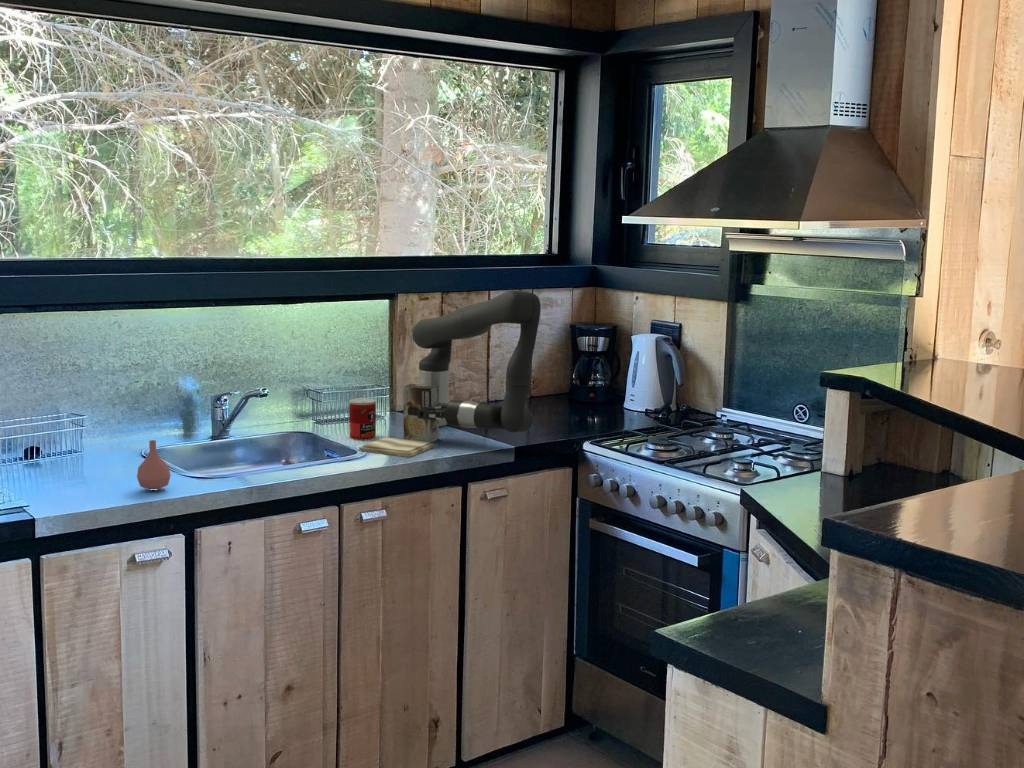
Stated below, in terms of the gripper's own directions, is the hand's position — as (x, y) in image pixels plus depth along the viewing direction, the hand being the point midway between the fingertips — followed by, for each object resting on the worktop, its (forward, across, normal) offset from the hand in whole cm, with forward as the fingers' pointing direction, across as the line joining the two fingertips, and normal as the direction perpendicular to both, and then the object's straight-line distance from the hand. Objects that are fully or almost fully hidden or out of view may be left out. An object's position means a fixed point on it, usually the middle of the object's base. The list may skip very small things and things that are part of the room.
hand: (414, 408), depth 327 cm
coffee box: (-2, 0, +9) cm, 9 cm away
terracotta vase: (+26, +80, +9) cm, 85 cm away
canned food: (+15, +5, +9) cm, 18 cm away
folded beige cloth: (-2, +14, +9) cm, 17 cm away
